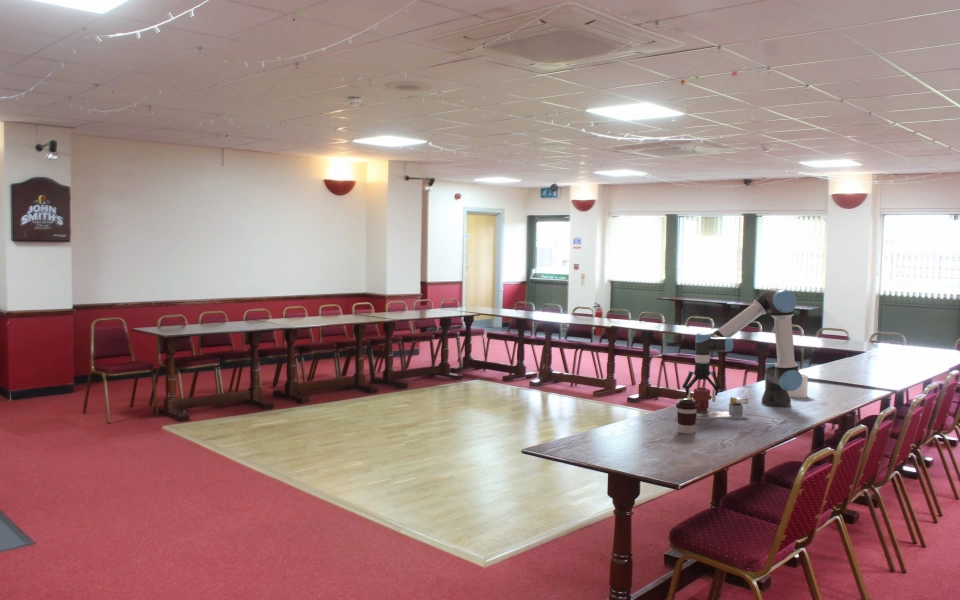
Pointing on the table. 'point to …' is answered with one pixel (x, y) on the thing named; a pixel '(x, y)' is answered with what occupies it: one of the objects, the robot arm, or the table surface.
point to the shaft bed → (733, 412)
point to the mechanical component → (702, 398)
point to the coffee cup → (686, 416)
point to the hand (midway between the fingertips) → (701, 401)
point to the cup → (800, 389)
